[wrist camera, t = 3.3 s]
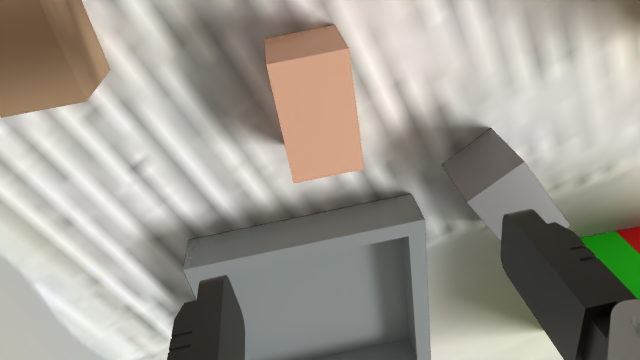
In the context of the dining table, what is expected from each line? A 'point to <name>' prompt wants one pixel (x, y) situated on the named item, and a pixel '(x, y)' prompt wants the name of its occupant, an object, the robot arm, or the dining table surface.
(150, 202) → the dining table surface
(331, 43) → the terracotta brick
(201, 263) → the slate tray
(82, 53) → the walnut brick
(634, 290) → the puzzle toy
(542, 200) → the charcoal brick
